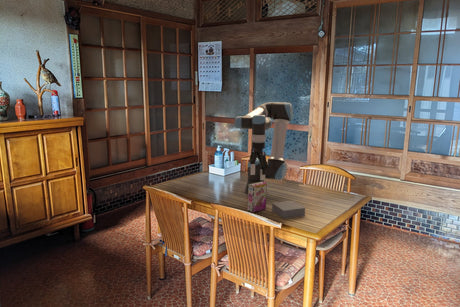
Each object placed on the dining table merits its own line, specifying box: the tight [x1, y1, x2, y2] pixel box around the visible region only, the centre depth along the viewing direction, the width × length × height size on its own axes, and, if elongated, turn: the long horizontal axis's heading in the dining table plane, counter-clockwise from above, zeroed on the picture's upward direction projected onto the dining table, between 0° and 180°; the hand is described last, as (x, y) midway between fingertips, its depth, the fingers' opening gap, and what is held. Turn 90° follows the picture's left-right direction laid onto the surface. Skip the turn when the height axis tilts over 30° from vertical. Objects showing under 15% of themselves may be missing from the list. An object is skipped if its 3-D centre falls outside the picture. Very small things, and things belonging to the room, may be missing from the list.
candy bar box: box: [247, 181, 268, 213], centre depth 210 cm, size 11×5×16 cm, turn 129°
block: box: [271, 200, 306, 219], centre depth 206 cm, size 14×14×5 cm
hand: (257, 177), depth 207 cm, fingers open, 13 cm apart
